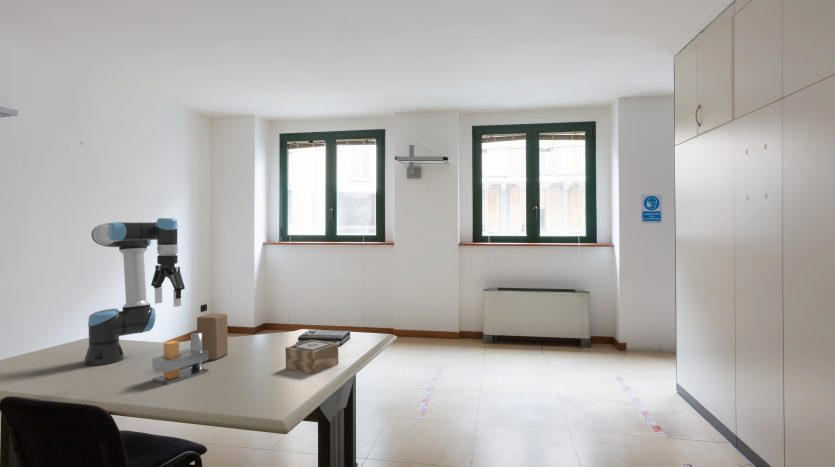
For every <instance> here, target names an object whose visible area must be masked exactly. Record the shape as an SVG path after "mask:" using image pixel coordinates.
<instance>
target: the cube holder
mask: <svg viewBox="0 0 835 467" xmlns="http://www.w3.org/2000/svg"><path fill="white" fill-rule="evenodd" d="M308 342H319V343H326V344H329V346H328V347H325V348H322V349H319V350H316V351H307V350H301V349H296V346H299V345H302V344H305V343H308ZM338 364H339V346H338V344H336V343H330V342H323V341H317V340H309V341H306V342H302V343H299V344H296V343H295V344H294V345H290V346H286V347H285V369H287V368H288V370H292V369H293V371H298V372H303V373H306V374H310V375H311V374H312V375H314V374H316V373H319V372H322V371H324V370H327V369H329V368H331V367H334V366H336V365H337V366H338Z"/></svg>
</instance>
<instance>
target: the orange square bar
mask: <svg viewBox="0 0 835 467" xmlns="http://www.w3.org/2000/svg"><path fill="white" fill-rule="evenodd" d="M179 351H180V341H176V340H171V341H170V340H169V341H167V342H166V341H165V342H163V355H164V358H166V359H172V358H176V357H179ZM179 371H180V368H178V369H175V370H171V371H168V372H167V371H163V375H164V377H165V378H169V379H171V378H175V377H178V376H179Z"/></svg>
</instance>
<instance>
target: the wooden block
mask: <svg viewBox="0 0 835 467" xmlns="http://www.w3.org/2000/svg"><path fill="white" fill-rule="evenodd" d="M196 333H202V349H203V350H208V360H207V361H216V360H219V359H220V358H224V357H225V356H227V355H228V353H229V352H228V351H229V350H228V347H229V346H228V344H229V343H228V340H229V339H228V336H229V334H228V314H226V313H207V314H204V315H200V316H198V317H197V318H196Z"/></svg>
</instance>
